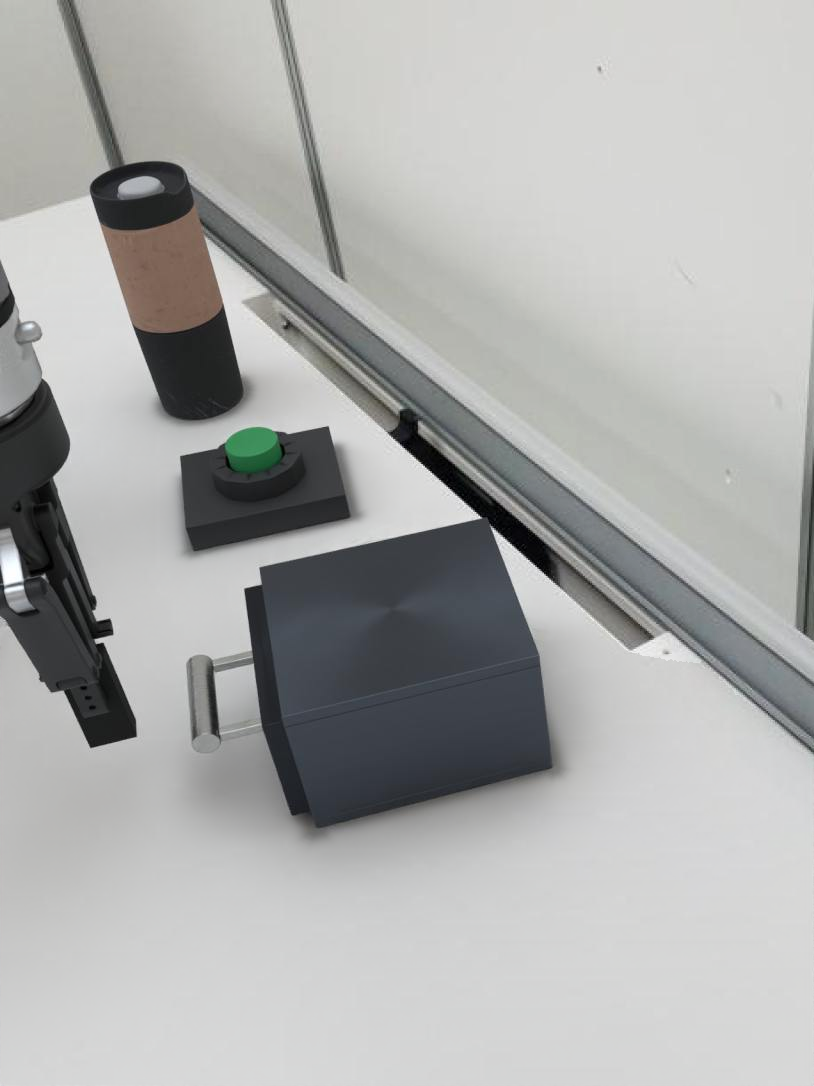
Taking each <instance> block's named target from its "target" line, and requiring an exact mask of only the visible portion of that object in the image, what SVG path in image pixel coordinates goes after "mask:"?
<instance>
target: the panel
mask: <svg viewBox="0 0 814 1086" xmlns="http://www.w3.org/2000/svg"><path fill="white" fill-rule="evenodd" d="M273 431H274V432H275V433H276V434H277V437H278V440H279V444H280V448H281V452H282V459H281V461H280V462H279V463H278V464H277V465H275V466H273V467H271V468H269V469H268V470H264V471H260V472H255V473H240V472H235V471H234V470H233V469H232V468H231V466H230V462H229V459H228V456H227V452H226V449H225V444H226V441H225V442H223V443H222V444H220V445H219V446H217V448H212V449H207V450H202V451H197V452H193V453H188V454H187V453H186V454H182V455H180V456H179V461H180V470H181V471H180V474H181V485H182V486H181V487H182V497H183V510H184V511H183V512H184V523H185V530H186V533H187V536H188V539H189V542H190V545H191V548H192V550H193V551H199V550H203V549H204V550H205V549H208V548H213V547H218V546H222V545H226V544H232V543H236V542H241V541H245V540H250V539H255V538H259V537H265V536H269V535H272V534H273V535H274V534H278V533H282V532H286V531H292V530H295V529H301V528H306V527H311V526H315V525H319V524H325V523H329V522H333V521H338V520H342V519H347V518H351V512H350V508H349V503H348V499H347V495H346V491H345V487H344V482H343V479H342V474H341V470H340V467H339V462H338V458H337V454H336V451H335V446H334V441H333V437H332V433H331V429H330V425H326V426H321V427H317V428H312V429H311V428H310V429H307V430H306V429H305V430H301V431H296V432H292V433H287V432H285V431H278V430H273Z"/></svg>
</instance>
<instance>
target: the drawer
mask: <svg viewBox="0 0 814 1086" xmlns="http://www.w3.org/2000/svg"><path fill="white" fill-rule="evenodd" d="M243 591H244V592H243V593H244V600H245V608H246V616H247V624H248V631H249V638H250V646H251V647H250V648H251V650H249V651H243V652H239V653H237V654H231V655H227V656H223V657H220V658H215V659H212V658H211V657H210V656H208V655H206V654H195V655H193V656H191V657H189V659H187V661H186V663H185V667H186V682H187V697H188V698H187V699H188V710H189V723H190V739H191V748H192V749H193V750H194V751H195V752H196V753H199V754H203V755H206V754H211V753H214V752H216V751H217V750H218V749H219V748H220V746H221V743H222V742H224V741H229V740H233V739H236V738H237V739H238V738H240V737H245V736H249V735H254V734H257V733H262V732H263V735H264V738H265V741H266V744H267V746H268V750H269V753H270V757H271V759H272V762H273V765H274V768H275V771H276V774H277V777H278V780H279V783H280V785H281V788H282V789H281V790H282V791H283V794H284V797H285V800H286V803H287V806H288V810H289V813H290V816H292V817H294V816H299V815H302V814H307V813H311V810H310V807H309V804H308V801H307V798H306V795H305V791H304V788H303V785H302V782H301V779H300V776H299V772H298V769H297V766H296V763H295V760H294V757H293V754H292V750H291V747H290V744H289V741H288V738H287V735H286V731H285V728H284V725H283V722H282V719H281V713H280V706H279V700H278V693H277V686H276V679H275V672H274V665H273V659H272V652H271V645H270V638H269V631H268V624H267V618H266V611H265V604H264V597H263V590H262V584H257V585H253V586H249V587H248V586H247V587H244V589H243ZM250 665H253V668H254V676H255V677H254V678H255V684H256V693H257V700H258V709H259V716H260V717H259V718H255V719H250V720H245V721H243V722H238V723H233V724H229V725H226V726H221V727H220V719H219V710H218V709H219V708H218V699H217V688H216V678H215V677H216V676H215V673H216V674H217V673H219V672H224V671H225V672H226V671H228V670H229V671H230V670H233V669H238V668H241V667H246V666H250Z"/></svg>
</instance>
